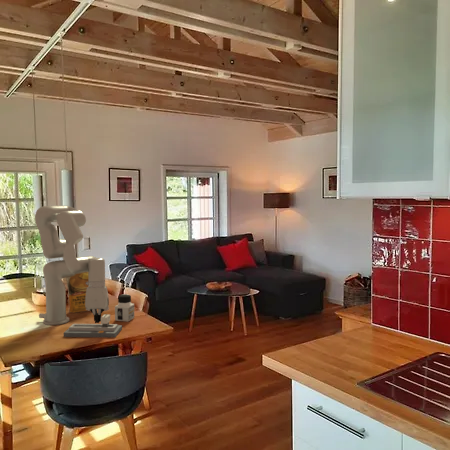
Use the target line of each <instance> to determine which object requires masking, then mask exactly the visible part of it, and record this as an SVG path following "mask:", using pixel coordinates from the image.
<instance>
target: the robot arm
mask: <svg viewBox="0 0 450 450" xmlns="http://www.w3.org/2000/svg"><path fill="white" fill-rule="evenodd" d="M34 219H35V226H36V227H37V230H38V233H39V236H40V243H41V247H42V249H41V250H42V253H43V256H44V258H46V259H49V260H50V259H51V260H52V259H57V260H53V261H50V262H47V263H45V264H44V266H43V269H42V274H43V278H44V283H45V309H46V310H45V313H39V314H38V318H39V319H43V321H42V322H43V325H47V326H58V325H63V324H66V323H69V322H70V317H69V316H67V296H66V295H67V294H66V293H67V289H66V285H65V283H64V282H63V279H66V278H68V277H72V276H75V275H76V274H79V273H84V272H88V276H89V281H88V282H86V285H88V286H89V287H87V290H86V298H85V307H86V310H88V311H87V312H90V313H92V315H93V322H94V324H100V323H101V317H102V313H103V312H106V311H109V309H110V307H109V304H110V299H109V292H108V288H107V286H106V261H105V259H104V258H103V257H96V256H93V255H87V256H79V257H77V253H76V249H75V245H77V244H79V243H80V242H81V241H82V240H83V238H84V235H83V233H82V230H81V228H82V227H83V226H85V224H86V221H87V218H86V215H85V213H84V212H83V211H81V210H80V209H77V208H75V207H73V206H69V205H44V206H41V207H39V208H38V209H37V210H36V212H35V215H34ZM53 223H57V226H58V227H59V230H60V232H61V234H62V235H63V238H60V237H59V232H58V230H57V228H56V227H55V225H54V224H53ZM80 227H81V228H80ZM60 258H62V259H61V260H60ZM58 259H59V260H58Z"/></svg>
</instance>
